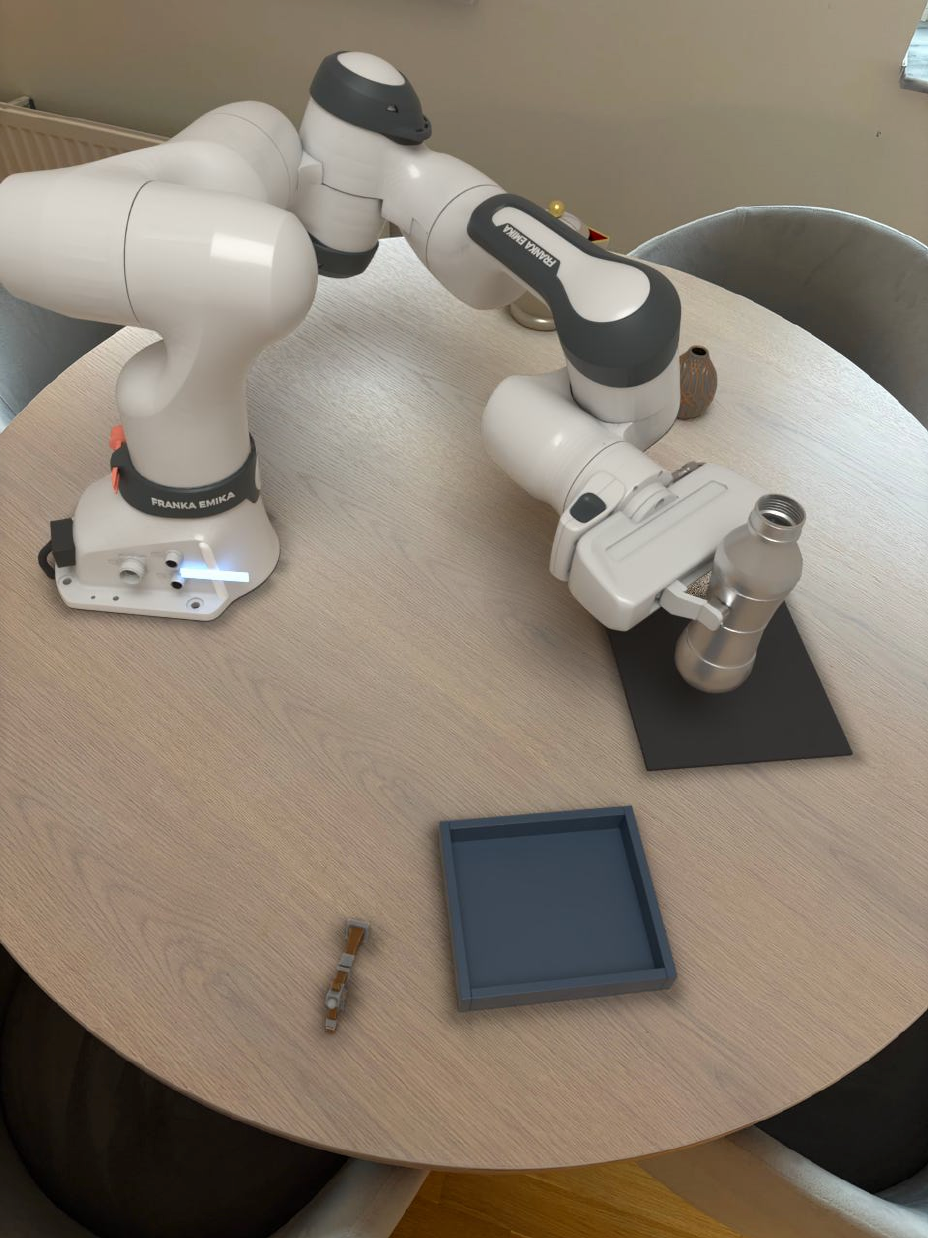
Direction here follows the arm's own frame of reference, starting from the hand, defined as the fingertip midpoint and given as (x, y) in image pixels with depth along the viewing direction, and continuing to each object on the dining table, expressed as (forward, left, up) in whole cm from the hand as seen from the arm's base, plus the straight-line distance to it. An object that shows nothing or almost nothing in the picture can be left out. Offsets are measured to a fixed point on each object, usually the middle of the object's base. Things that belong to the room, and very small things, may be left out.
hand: (751, 600), depth 75 cm
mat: (+5, +6, -19) cm, 20 cm away
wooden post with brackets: (-33, -20, -19) cm, 43 cm away
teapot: (-3, +70, -19) cm, 73 cm away
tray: (-17, -16, -19) cm, 30 cm away
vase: (+13, +48, -19) cm, 53 cm away
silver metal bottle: (-1, +1, -11) cm, 11 cm away
